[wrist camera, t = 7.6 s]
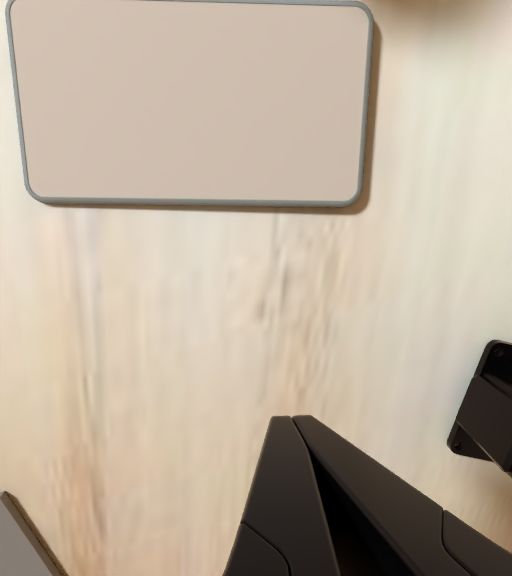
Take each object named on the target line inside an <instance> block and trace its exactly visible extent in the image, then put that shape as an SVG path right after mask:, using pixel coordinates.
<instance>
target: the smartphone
mask: <svg viewBox="0 0 512 576" xmlns="http://www.w3.org/2000/svg"><path fill="white" fill-rule="evenodd" d="M5 16H6V24H7V33H8V42H9V51H10V59H11V68H12V77H13V86H14V95H15V103H16V112H17V121H18V130H19V139H20V147H21V156H22V165H23V174H24V183H25V187H26V189H27V191H28V193H29V194H30V195H31V196H32V197H33V198H34V199H36V200H37V201H40V202H43V203H60V204H137V205H213V206H269V207H346V206H349V205H351V204H353V203H354V202H355V201H356V200H357V199H358V198H359V196H360V194H361V191H362V183H363V169H364V156H365V142H366V128H367V114H368V100H369V87H370V73H371V59H372V45H373V31H374V19H373V15H372V13H371V11H370V9H369V8H368V7H367V6H366V5H365V4H363V3H361V2H358V1H341V0H8V2H7V5H6V9H5Z"/></svg>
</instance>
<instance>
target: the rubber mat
mask: <svg viewBox="0 0 512 576" xmlns="http://www.w3.org/2000/svg"><path fill="white" fill-rule="evenodd" d="M0 576H62V575H61V574H60V572H59V571H58V569H57V568H56V566H55V565H54V563H53V562H52V560H51V559H50V557H49V556H48V554H47V553H46V552H45V550H44V549H43V547H42V546H41V544H40V543H39V541H38V540H37V538H36V537H35V535H34V534H33V532H32V531H31V529H30V528H29V526H28V525H27V523H26V522H25V520H24V519H23V517H22V516H21V514H20V513H19V511H18V510H17V509H16V507H15V506H14V504H13V503H12V501H11V500H10V498H9V497H8V495H7V494H6V492H5V491H4V492H1V493H0Z"/></svg>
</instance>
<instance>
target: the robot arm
mask: <svg viewBox="0 0 512 576" xmlns="http://www.w3.org/2000/svg"><path fill="white" fill-rule="evenodd" d="M498 347H499V351H498V352H497V353H494V351H495V349H496V348H498ZM458 442H460V443H459V445H457V446H455V445H456V443H458ZM447 446H448V447H449V448H450V449H451V451H452V452H453V453H455V454H459V455H463V456H468V457H473V458H478V459H482V460H487V461H492V462H495V463H496V464H497V465H498V467H499V468H500V469H501V470H502V471H504V472H506V473H507V474H508V475H509V476H510V477H511V478H512V343H509V342H505V341H501V340H492V341H490V342H489V343H488V344H487V345H486V347H485V349H484V352H483V354H482V356H481V359H480V361H479V364H478V366H477V369H476V371H475V374H474V376H473V378H472V380H471V382H470V384H469V387H468V389H467V392H466V394H465V397H464V399H463V402H462V404H461V406H460V409H459V411H458V414H457V416H456V420H455V422H454V425H453V427H452V430H451V432H450V435H449V437H448V439H447ZM222 576H512V554H511V553H510V552H508V551H507V550H505V549H503V548H502V547H500V546H499V545H497V544H495V543H494V542H492V541H491V540H489V539H488V538H487V537H485V536H484V535H482V534H481V533H479V532H478V531H476V530H475V529H473V528H472V527H470V526H469V525H467V524H466V523H464V522H463V521H461V520H460V519H459V518H457V517H456V516H454V515H453V514H451V513H450V512H449V511H447V510H444V511H443V508H442V507H441V506H440V505H438V504H437V503H436V502H434V501H433V500H431V499H430V498H428V497H427V496H426V495H424V494H423V493H421V492H420V491H418V490H417V489H416V488H414V487H413V486H411V485H410V484H408V483H407V482H406V481H404V480H403V479H401V478H400V477H398V476H397V475H396V474H394V473H393V472H391V471H390V470H388V469H387V468H386V467H384V466H383V465H381V464H380V463H378V462H377V461H376V460H374V459H373V458H371V457H370V456H368V455H367V454H366V453H364V452H363V451H361V450H360V449H358V448H357V447H356V446H354V445H353V444H351V443H350V442H348V441H347V440H346V439H344V438H343V437H341V436H340V435H338V434H337V433H336V432H334V431H333V430H331V429H330V428H329V427H327V426H326V425H324V424H323V423H321V422H320V421H319V420H317V419H316V418H314V417H313V416H311V415H296V416H293V417H292V418H291V417H290V416H273V417H271V419H270V422H269V426H268V429H267V433H266V436H265V439H264V443H263V446H262V450H261V453H260V457H259V460H258V464H257V467H256V470H255V474H254V477H253V481H252V484H251V488H250V491H249V494H248V498H247V501H246V505H245V508H244V512H243V515H242V519H241V522H240V525H239V528H238V531H237V535H236V538H235V541H234V544H233V547H232V550H231V553H230V556H229V559H228V562H227V565H226V568H225V570H224V573H223V575H222Z"/></svg>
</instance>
